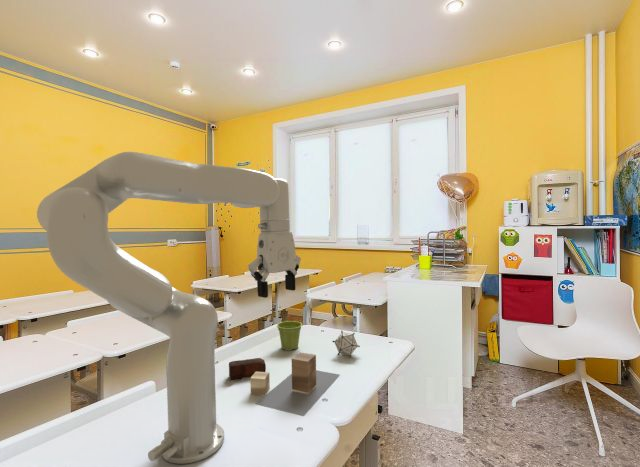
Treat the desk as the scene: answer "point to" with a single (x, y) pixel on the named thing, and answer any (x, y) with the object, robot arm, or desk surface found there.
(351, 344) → the spiked icosahedron
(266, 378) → the beech block
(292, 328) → the plant pot
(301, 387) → the walnut block
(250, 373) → the brick
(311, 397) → the mat
